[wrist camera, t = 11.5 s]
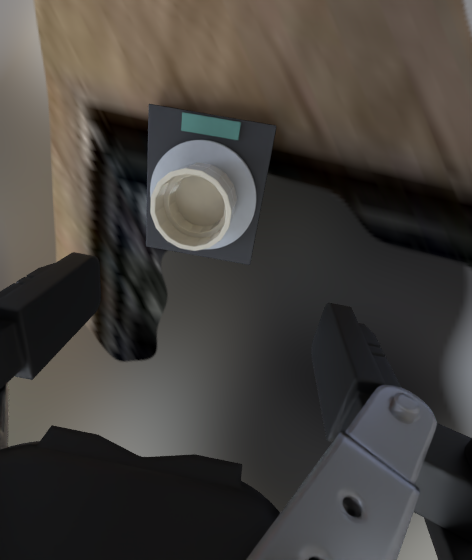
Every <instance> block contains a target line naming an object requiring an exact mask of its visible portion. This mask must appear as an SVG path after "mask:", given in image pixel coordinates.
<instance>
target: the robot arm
mask: <svg viewBox="0 0 472 560" xmlns="http://www.w3.org/2000/svg"><path fill="white" fill-rule="evenodd" d="M100 300H101V287H100V265H99V260H98V258H97V257H95V256H90V255H85V254H80V253H75V252H73V253H71V254H69V255H68V256H66V257H64V258H63V259H61V260H60V261H58V262H57V263H53V264H50V265H47V266H44V267H41V268H38V269H37V270H35V271H33V272H32V273H30V274H28V275H27V277H24V278H22V279H20V280H19V281H17V283H14V284H12V285H10V286H9V287H7V288H5V289H4V290H2V291H1V292H0V560H397V558H398V554H399V552H400V549H401V546H402V543H403V540H404V538H405V535H406V532H407V529H408V526H409V523H410V520H411V517H412V514H413V512H415V513H417V514H419V515H421V516H422V517H424V519H425V522H426V525H427V528H428V531H429V534H430V537H431V539H432V542H433V545H434V548H435V551H436V554H437V557H438V560H472V438H470V437H468V436H465V435H463V434H461V433H458V432H456V431H454V430H452V429H449V428H447V427H445V426H442V425H440V424H438V423H436V418H435V416H434V414H433V412H432V411H431V410H430V408H429V407H428V406H427V405H426V404H425V403H424V402H423V401H422V400H421V399H420V398H419V397H417V396H416V395H414V394H413V393H411V392H409V391H407V390H405V389H403V388H401V386H400V384H399V382H398V380H397V378H396V376H395V375H394V372H393V370H392V368H391V366H390V364H389V362H388V360H387V358H386V357H385V354H384V352H383V350H382V348H380V344H379V342H378V340H377V338H376V336H375V335H374V333H372V332H371V331H370V330H369V329H368V328H367V327H366V326H365V325H364V324H361V323H358V321H357V319H356V317H355V315H354V312H353V310H352V308H351V307H348V306H343V305H338V304H332V303H327V304H326V306H325V308H324V311H323V314H322V316H321V319H320V322H319V325H318V328H317V330H316V333H315V337H314V339H313V343H312V350H311V353H312V354H311V355H312V361H313V367H314V372H315V378H316V384H317V389H318V394H319V400H320V406H321V411H322V417H323V422H324V428H325V433H326V439H327V441H332V442H333V443H332V444H331V446H330V447H329V448H328V449H327V451H326V452H325V454H324V455H323V456H322V458H321V459H320V460H319V462H318V463H317V464H316V466H315V467H314V469H313V470H312V471H311V472H310V474H309V475H308V477H307V478H306V479H305V481H304V482H303V484H302V485H301V486H300V487H299V489H298V490H297V491H296V493H295V494H294V496H293V497H292V498H291V499H290V501H289V502H288V504H287V505H286V506H285V508H284V509H283V510H282V512H281V513H280V512H279V511H278V510H277V509H276V508H275V507H274V505H273V504H272V503H270V501H269V500H268V499H266V498H265V497H264V496H263V495H262V494H261V493H260V492H258V491H257V490H255V489H254V488H252V487H251V486H249V485H248V484H246V483H244V482H242V481H241V471H242V464H238V463H234V462H229V461H224V460H219V459H214V458H209V457H204V456H199V455H179V456H160V457H141V456H138V455H136V454H134V453H132V452H130V451H128V450H126V449H124V448H122V447H121V446H119V445H117V444H115V443H113V442H111V441H109V440H107V439H105V438H103V437H101V436H99V435H96V434H92V433H87V432H81V431H77V430H72V429H67V428H62V427H57V426H51V427H50V428H49V430H48V431H47V433H46V434H45V435H44V437H43V438H42V439H41V441H36V442H29V443H23V444H19V445H15V446H11V447H8V420H9V387H8V381H9V380H11V378H13V377H14V376H16V377H20V378H26V379H31V380H32V379H34V377H35V376H36V375H37V374H38V373H39V372H40V371H41V370H42V369H43V368H44V367H45V366H46V365H47V364H48V362H49V361H50V360H51V359H52V358H53V357H54V356H55V355H56V354H57V353H58V352H59V351H60V350H61V349H62V347H64V346H65V344H66V343H67V342H68V341H69V340H70V339H71V338H72V337H73V336H74V335H75V334H76V333H77V332H78V331H79V330H80V328H81V327H82V326H83V325H84V324H85V323H86V322H87V321H88V320H89V319H90V318H91V317H92V316H93V315H94V314H95V312H96V311H97V309H98V307H99V304H100Z"/></svg>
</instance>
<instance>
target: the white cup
mask: <svg viewBox="0 0 472 560" xmlns="http://www.w3.org/2000/svg"><path fill="white" fill-rule="evenodd" d="M236 204H237V197H236V192H235V188H234V185H233V183H232V182H231V180H230V179H229V178H228V176H227V175H226V173H225V172H223V171H222V170H220V169H218V168H217V167H215V166H214V165H212V164H206V163H200V162H197V163H193V164H189V165H185V166H183V167H181V168H178V169H176V170H173V171H171V172H169V173H168V174H167V175H165V176H164V177H163V178H162V179H161V180H160V181H158V183H157V184H156V186H155V189H154V191H153V193H152V195H151V207H150V213H151V216H152V219H153V221H154V224H155V227H156V229H157V230H158V231H159V232H160V233H161V235H162V236H163V237H164V238H165V239H166V240H167V241H168V242H170V243H172V244H173V245H175V246H177V247H178V248H181V249H187V250H192V251H197V250H202V249H207V248H210V247H211V246H213V245H214V244H216V243H217V242H219V241H220V240H221V239H222V238H223V236H224V235H225V233H226V232H227V230H228V228H229V226H230V224H231V222H232V219H233V217H234V214H235V210H236Z"/></svg>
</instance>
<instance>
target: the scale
mask: <svg viewBox="0 0 472 560" xmlns="http://www.w3.org/2000/svg"><path fill="white" fill-rule="evenodd" d="M275 132H276V126H275V125H270V124H264V123H258V122H252V121H246V120H240V119H235V118H229V117H223V116H217V115H211V114H206V113H200V112H194V111H188V110H182V109H176V108H171V107H165V106H159V105H153V104H149V121H148V170H147V219H146V246H148V247H153V248H159V249H164V250H170V251H175V252H181V253H187V254H192V255H198V256H203V257H208V258H214V259H219V260H225V261H231V262H236V263H242V264H247V265H250V262H251V257H252V252H253V247H254V242H255V236H256V230H257V226H258V221H259V215H260V210H261V205H262V199H263V194H264V189H265V184H266V179H267V174H268V168H269V163H270V158H271V153H272V147H273V142H274V137H275ZM197 162H200V163H206V164H212V165H214V166H215V167H217V168H218V169H220V170H222V171H223V172H225V173H226V175H227V176H228V178H229V179H230V180H231V182H232V183H233V185H234V188H235V192H236V197H237V204H236V210H235V214H234V217H233V219H232V222H231V224H230V226H229V228H228V230H227V232H226V233H225V235H224V236H223V238H222V239H221V240H220V241H219V242H217V243H216V244H214V245H213V246H211V247H210V248H207V249H202V250H197V251H192V250H187V249H181V248H178V247H177V246H175V245H173V244H172V243H170V242H168V241H167V240H166V239H165V238H164V237H163V236H162V235H161V233H160V232H159V231H158V230H157V229H156V227H155V224H154V221H153V219H152V216H151V213H150V207H151V195H152V193H153V191H154V189H155V186H156V184H157V183H158V181H160V180H161V179H162V178H163V177H164V176H165V175H167V174H168V173H169V172H171V171H173V170H176V169H178V168H181V167H183V166H185V165H189V164H193V163H197Z"/></svg>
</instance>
